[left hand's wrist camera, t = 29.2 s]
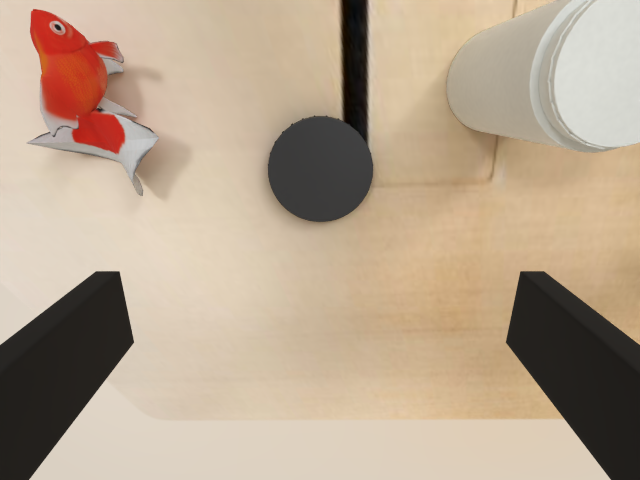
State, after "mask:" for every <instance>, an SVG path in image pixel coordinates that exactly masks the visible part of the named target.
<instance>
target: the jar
mask: <svg viewBox="0 0 640 480" xmlns="http://www.w3.org/2000/svg"><path fill="white" fill-rule="evenodd" d="M446 91H447V98H448V102H449V105H450V108H451V110H452V112H453V113H454V115H455V116H456V118H457V119H458V120H459V121H460V122H461V123H462V124H464V125H465V126H467V127H469V128H471V129H473V130H476V131H480V132H485V133H490V134H495V135H500V136H505V137H510V138H515V139H520V140H525V141H530V142H535V143H540V144H545V145H550V146H555V147H560V148H565V149H570V150H574V151H580V152H604V151H608V150H613V149H616V148H619V147H624V146H629V145H633V144H636V143H639V142H640V0H555V1H553V2H551V3H548V4H546V5H544V6H541V7H539V8H536V9H534V10H532V11H529V12H527V13H524V14H522V15H520V16H517V17H515V18H513V19H510V20H508V21H505V22H503V23H501V24H498V25H496V26H493V27H491V28H489V29H486V30H484V31H482V32H480V33H478V34H476V35H475V36H473V37H472V38H471V39H469V40H468V41H467V42H466V43H465V44H464V45H463V46H462V48H461V49H460V50H459V51H458V53H457V54H456V56H455V58H454V60H453V62H452V64H451V66H450V69H449V73H448V76H447V86H446Z"/></svg>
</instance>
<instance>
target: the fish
mask: <svg viewBox="0 0 640 480" xmlns="http://www.w3.org/2000/svg"><path fill="white" fill-rule="evenodd" d="M30 33H31V38H32V41H33V44H34V46H35V48H36V50H37V52H38V54H39V57H40V63H41V70H42V75H41V80H40V110H41V113H42V116H43V118H44V121H45V123H46V125H47V127H48V129H49V131H50V132H49V133H46V134H43V135H40V136H39V137H37V138H35V139H33V140H31V141H29V142H27V143H28V144H33V145H38V146H43V147H48V148H53V149H58V150H64V151H70V152H77V153H83V154H89V155H94V156H99V157H103V158H108V159H111V160H114V161H117V162H120V163H122V165H123V166H124V168H125V170H126V172H127V174H128V176H129V178H130V179H131V181H132V183H133V185H134V187H135V189H136V191H137V193H138V194H139V195H141V196H143V189H142V186H141V183H140V181H139V178H138V177H137V176H136V175H135V171H136V169H137V167H138V165H139V163H140V162H141V160H142V158H143V157H144V156H145V155H146V154H147V152H148V151H149V150H150V149H151V148H152V147H153V145H154V144H155V143H156V141H157V140H158V139H159V137H158V136H157V135H156V134H155V133H154V132H153V131H152V130H151V129H150V128H147V127H145V126H143V125H140V124H138V123H136V122H134V121H131V120H129V119H127V118H125V117H122V116H120V115H117V114H121V115H126V116H131V117H135V118H136V117H137V116H136V115H135V114H133V113H131V112H130V111H128V110H127V109H125V108H123V107H122V106H120V105H118V104H116V103H114V102H112V101H110V100H108V99H107V98H105V97H104V94H105V91H106V87H107V75H110V74H114V73H121V72H123V68H122V67H121V66H120V65H118V64H117V63H115V62H114V61H112V60H111V59H113V60H116V61H118V62H121V63H123V62H124V61H123V56H122V54H121V53H120V51H119V49H118V46H117V44H116V43H114V42H109V41H99V42H94V43H89V42H88V41H87V40H86V38H85V37H84V36H83V35H82V34H81V33H80V32H78V31H77V30H76V29H75V28H74V27H73V26H71V25H70V24H69V23H67V22H66V21H64V20H63V19H61V18H60V17H58V16H56V15H55V14H52V13H50V12H47V11H43V10H37V9H33V11H32V12H31V27H30ZM97 106H99V107H100V108H101V109H99V108H97ZM96 108H97V109H96ZM114 113H115V114H114ZM60 127H62V128H60ZM59 128H60V129H59Z"/></svg>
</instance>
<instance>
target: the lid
mask: <svg viewBox="0 0 640 480" xmlns="http://www.w3.org/2000/svg"><path fill="white" fill-rule="evenodd" d="M268 175H269V176H268V177H269V181H270V185H271V188H272V190H273V192H274V194H275V196H276V198H277V199H278V201H279V202H280V203H281V204H282V205H283V206H284V207H285V208H286V209H287V210H288V211H289V212H291V213H292V214H294V215H296V216H298V217H300V218H302V219H305V220H309V221H316V222H325V221H332V220H336V219H339V218H341V217H343V216H345V215H347V214H349V213H350V212H352V211H353V210H354V209H355V208H356V207H357V206H358V205H359V204H360V203H361V202H362V201H363V199H364V198H365V196H366V194H367V192H368V190H369V188H370V185H371V181H372V177H373V163H372V157H371V153H370V151H369V148H368V146H367V144H366V142H365V141H364V139H363V138H362V137H361V135H360V134H359V132H358V131H356V130H355V129H353V128H352V127H351V126H350V124H347V123H345V122H343V121H341V120H339V119H336V118H332V117H327V116H314V117H309V118H305V119H304V118H303V119H302V120H300V121H298V122H296V123H294V124H291V126H290V127H289V128H288V129H286V130H285V131H283V132H282V134H281V135H280V137H279V138H278V140H277V141H275V144H274V146H273V148H272V151H271V153H270V158H269V164H268Z"/></svg>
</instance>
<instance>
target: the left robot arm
mask: <svg viewBox="0 0 640 480" xmlns="http://www.w3.org/2000/svg"><path fill="white" fill-rule="evenodd" d="M133 343H134V340H133V335H132V330H131V325H130V320H129V316H128V311H127V306H126V301H125V296H124V291H123V286H122V281H121V277H120V272H119V271H96V272H95V273H93V274H92V275H91V276H89V277H88V278H87V279H86V280H84V281H83V282H82V283H80V284H79V285H78V286H76V287H75V288H74V289H73V290H71V291H70V292H69V293H67V294H66V295H65V296H63V297H62V298H61V299H60V300H58V301H57V302H56V303H54V304H53V305H52V306H50V307H49V308H48V309H47V310H45V311H44V312H43V313H41V314H40V315H39V316H37V317H36V318H35V319H34V320H32V321H31V322H30V323H28V324H27V325H26V326H24V327H23V328H22V329H21V330H19V331H18V332H17V333H15V334H14V335H13V336H11V337H10V338H9V339H8V340H6V341H5V342H4V343H2V344H1V345H0V480H29V479H30V478H31V476H32V475H33V474H34V472H35V471H36V470H37V468H38V467H39V466H40V465H41V463H42V462H43V461H44V459H45V458H46V457H47V455H48V454H49V453H50V452H51V450H52V449H53V448H54V446H55V445H56V444H57V442H58V441H59V440H60V438H61V437H62V436H63V435H64V433H65V432H66V431H67V429H68V428H69V427H70V425H71V424H72V423H73V421H74V420H75V419H76V418H77V416H78V415H79V414H80V412H81V411H82V410H83V408H84V407H85V406H86V404H87V403H88V402H89V401H90V399H91V398H92V397H93V395H94V394H95V393H96V391H97V390H98V389H99V387H100V386H101V385H102V384H103V382H104V381H105V380H106V378H107V377H108V376H109V374H110V373H111V372H112V370H113V369H114V368H115V367H116V365H117V364H118V363H119V361H120V360H121V359H122V357H123V356H124V355H125V354H126V352H127V351H128V350H129V348H130V347H131V346H132V344H133ZM506 343H507V344H508V346H509V347H510V348H511V350H512V351H513V352H514V354H515V355H516V356H517V357H518V359H519V360H520V361H521V363H522V364H523V365H524V367H525V368H526V369H527V370H528V372H529V373H530V374H531V376H532V377H533V378H534V380H535V381H536V382H537V384H538V385H539V386H540V387H541V389H542V390H543V391H544V393H545V394H546V395H547V397H548V398H549V399H550V401H551V402H552V403H553V404H554V406H555V407H556V408H557V410H558V411H559V412H560V414H561V415H562V416H563V418H564V419H565V420H566V421H567V423H568V424H569V425H570V427H571V428H572V429H573V431H574V432H575V433H576V435H577V436H578V437H579V438H580V440H581V441H582V442H583V444H584V445H585V446H586V448H587V449H588V450H589V452H590V453H591V454H592V455H593V457H594V458H595V459H596V461H597V462H598V463H599V465H600V466H601V467H602V468H603V470H604V471H605V472H606V474H607V475H608V476H609V478H610V479H611V480H640V345H639V344H638V343H636V342H635V341H634V340H632V339H631V338H630V337H629V336H627V335H626V334H625V333H623V332H622V331H621V330H619V329H618V328H617V327H616V326H614V325H613V324H612V323H610V322H609V321H608V320H606V319H605V318H604V317H603V316H601V315H600V314H599V313H597V312H596V311H595V310H593V309H592V308H591V307H590V306H588V305H587V304H586V303H584V302H583V301H582V300H580V299H579V298H578V297H577V296H575V295H574V294H573V293H571V292H570V291H569V290H567V289H566V288H565V287H564V286H562V285H561V284H560V283H558V282H557V281H556V280H554V279H553V278H552V277H551V276H549V275H548V274H547V273H545V272H544V271H521V272H520V277H519V281H518V286H517V291H516V296H515V301H514V306H513V311H512V316H511V320H510V325H509V330H508V335H507V340H506Z"/></svg>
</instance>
